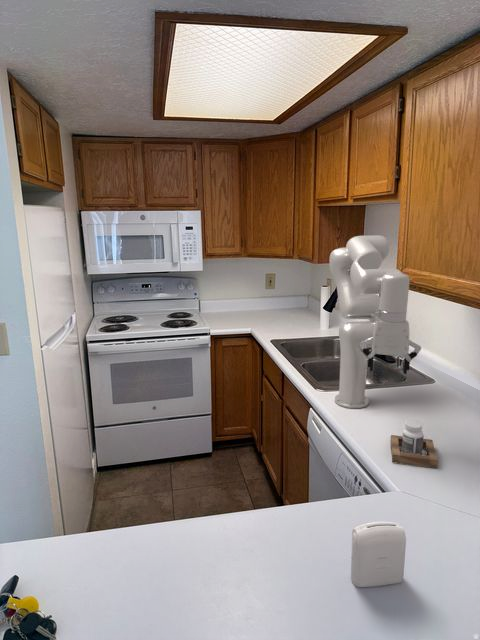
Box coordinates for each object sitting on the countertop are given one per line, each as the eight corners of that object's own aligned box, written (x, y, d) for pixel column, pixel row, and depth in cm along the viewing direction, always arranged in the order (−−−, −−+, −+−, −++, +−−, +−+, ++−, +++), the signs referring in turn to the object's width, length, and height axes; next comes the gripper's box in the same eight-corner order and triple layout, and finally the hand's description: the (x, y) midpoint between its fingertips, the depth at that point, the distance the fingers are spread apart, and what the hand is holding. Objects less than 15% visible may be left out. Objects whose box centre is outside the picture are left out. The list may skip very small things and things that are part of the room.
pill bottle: (418, 449, 130) (421, 419, 128) (424, 459, 125) (427, 428, 123) (399, 449, 131) (401, 419, 129) (404, 459, 125) (406, 428, 123)
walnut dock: (390, 442, 135) (390, 434, 134) (431, 447, 132) (432, 439, 131) (392, 462, 124) (392, 454, 123) (437, 468, 120) (438, 460, 120)
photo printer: (354, 590, 82) (357, 534, 79) (347, 572, 86) (349, 519, 83) (406, 585, 83) (411, 530, 80) (396, 567, 87) (400, 514, 84)
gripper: (361, 317, 123) (358, 373, 127) (426, 321, 119) (420, 378, 123) (361, 311, 130) (357, 364, 134) (422, 314, 126) (416, 368, 130)
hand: (387, 370), depth 129 cm, fingers open, 9 cm apart
